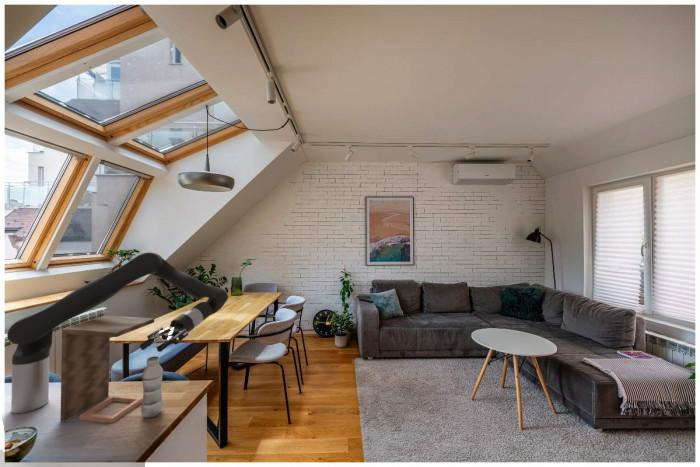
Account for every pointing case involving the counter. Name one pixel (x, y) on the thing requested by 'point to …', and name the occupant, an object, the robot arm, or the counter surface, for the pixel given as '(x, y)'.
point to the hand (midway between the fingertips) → (149, 348)
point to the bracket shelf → (90, 360)
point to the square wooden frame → (105, 418)
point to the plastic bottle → (152, 388)
